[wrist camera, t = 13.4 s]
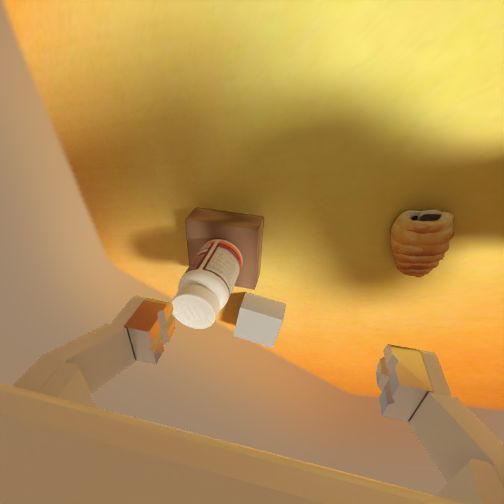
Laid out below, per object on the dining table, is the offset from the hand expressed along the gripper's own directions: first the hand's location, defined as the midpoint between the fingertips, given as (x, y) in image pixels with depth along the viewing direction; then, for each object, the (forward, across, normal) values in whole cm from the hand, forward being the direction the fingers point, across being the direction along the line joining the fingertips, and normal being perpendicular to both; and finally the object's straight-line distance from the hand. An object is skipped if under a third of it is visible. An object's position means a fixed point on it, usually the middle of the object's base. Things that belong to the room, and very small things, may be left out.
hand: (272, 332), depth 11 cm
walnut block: (+29, +10, +15) cm, 34 cm away
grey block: (+29, +4, +28) cm, 41 cm away
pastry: (+30, -15, +10) cm, 35 cm away
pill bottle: (+25, +10, +15) cm, 31 cm away
